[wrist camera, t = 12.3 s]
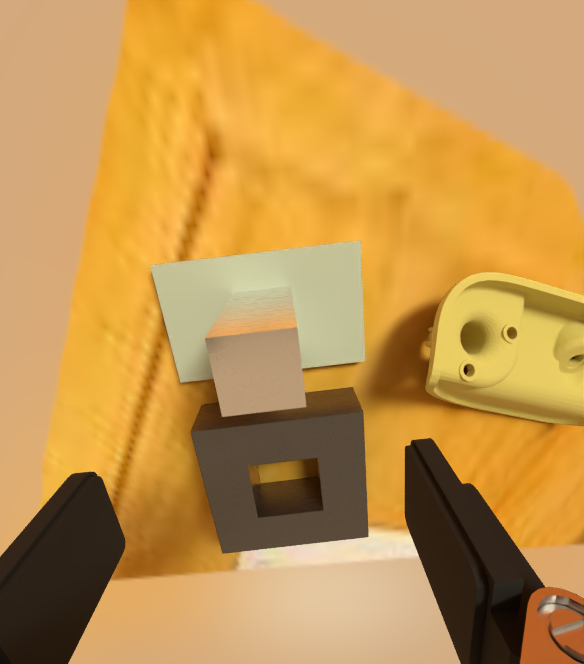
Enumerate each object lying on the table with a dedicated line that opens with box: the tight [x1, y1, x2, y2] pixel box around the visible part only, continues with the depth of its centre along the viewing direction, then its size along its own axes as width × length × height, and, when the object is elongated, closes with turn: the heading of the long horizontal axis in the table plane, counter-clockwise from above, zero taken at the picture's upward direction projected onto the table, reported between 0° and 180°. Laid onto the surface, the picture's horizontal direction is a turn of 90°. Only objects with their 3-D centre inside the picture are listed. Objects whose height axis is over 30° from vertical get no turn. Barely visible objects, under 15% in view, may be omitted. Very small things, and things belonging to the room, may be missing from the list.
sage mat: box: [150, 241, 365, 383], centre depth 27 cm, size 16×10×1 cm, turn 96°
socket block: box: [191, 387, 368, 554], centre depth 30 cm, size 14×14×4 cm
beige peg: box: [205, 286, 306, 417], centre depth 21 cm, size 5×5×10 cm
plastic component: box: [425, 272, 584, 426], centre depth 27 cm, size 20×7×10 cm
